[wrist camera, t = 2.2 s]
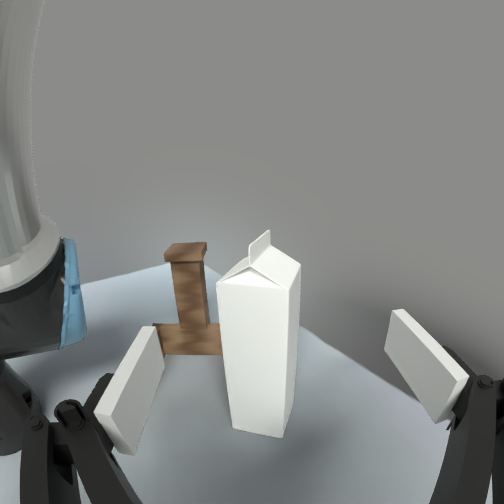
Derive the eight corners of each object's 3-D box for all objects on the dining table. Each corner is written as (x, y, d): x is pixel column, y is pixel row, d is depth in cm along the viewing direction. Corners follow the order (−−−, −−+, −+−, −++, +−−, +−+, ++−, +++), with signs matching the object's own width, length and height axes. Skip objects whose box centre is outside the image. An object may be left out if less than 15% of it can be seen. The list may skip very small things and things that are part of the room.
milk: (293, 404, 31) (303, 230, 25) (282, 439, 25) (292, 248, 19) (247, 396, 33) (239, 227, 27) (230, 428, 27) (212, 243, 21)
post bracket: (137, 399, 31) (101, 283, 26) (163, 338, 46) (146, 244, 41) (241, 404, 31) (231, 281, 26) (241, 338, 46) (235, 240, 41)
